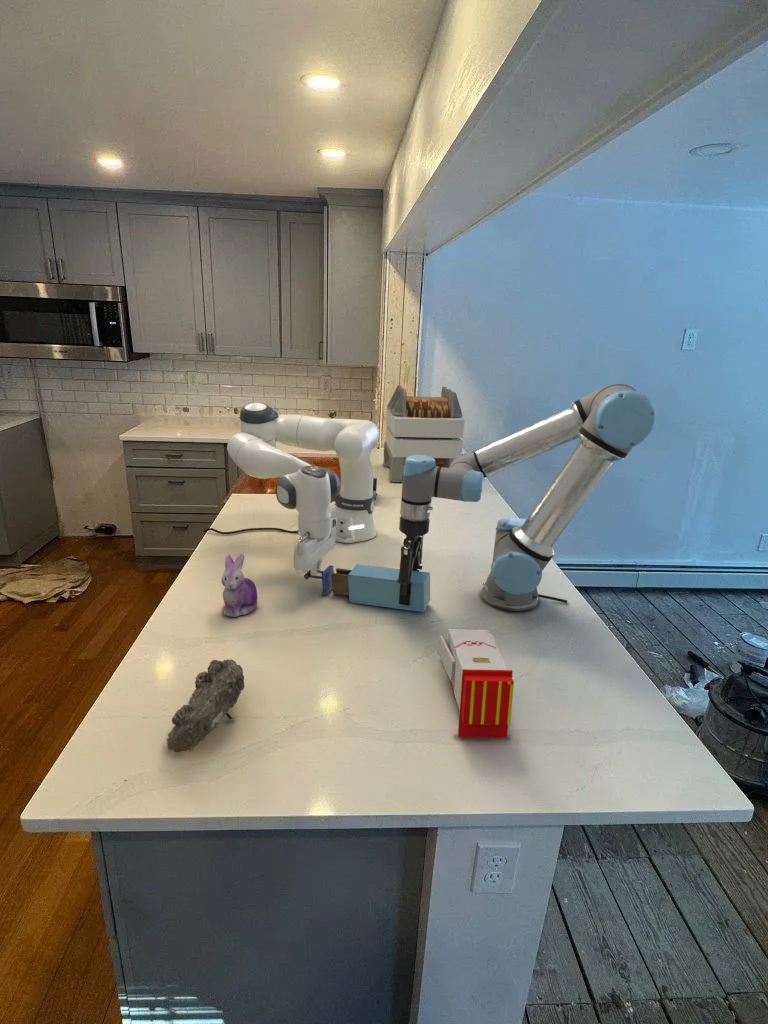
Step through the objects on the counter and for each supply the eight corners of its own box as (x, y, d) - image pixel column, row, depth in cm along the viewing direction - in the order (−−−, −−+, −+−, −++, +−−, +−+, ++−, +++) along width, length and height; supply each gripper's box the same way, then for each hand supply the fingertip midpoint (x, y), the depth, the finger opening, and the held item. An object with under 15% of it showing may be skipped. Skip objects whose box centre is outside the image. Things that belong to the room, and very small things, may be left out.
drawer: (303, 592, 157) (302, 571, 155) (312, 583, 162) (310, 563, 160) (390, 603, 149) (390, 581, 147) (396, 594, 154) (396, 572, 152)
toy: (488, 613, 130) (523, 677, 101) (484, 667, 133) (517, 744, 104) (435, 612, 130) (455, 676, 101) (432, 666, 133) (451, 743, 103)
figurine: (226, 621, 140) (223, 566, 135) (217, 603, 148) (214, 550, 143) (264, 614, 144) (262, 560, 139) (253, 596, 153) (251, 545, 148)
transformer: (382, 463, 289) (386, 382, 275) (445, 464, 293) (451, 384, 279) (390, 482, 257) (394, 392, 243) (460, 483, 261) (468, 394, 247)
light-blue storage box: (349, 602, 152) (348, 574, 150) (358, 591, 158) (357, 564, 156) (423, 612, 146) (423, 583, 144) (430, 600, 152) (430, 572, 150)
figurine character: (377, 508, 228) (376, 492, 242) (377, 490, 225) (377, 476, 238) (360, 507, 228) (361, 492, 242) (360, 490, 225) (361, 475, 238)
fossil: (192, 660, 117) (244, 628, 112) (224, 691, 120) (276, 661, 115) (142, 746, 98) (202, 712, 93) (182, 779, 101) (242, 748, 96)
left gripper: (309, 541, 142) (310, 591, 146) (339, 517, 161) (339, 562, 165) (286, 538, 144) (288, 587, 148) (318, 514, 162) (319, 559, 167)
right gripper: (419, 532, 132) (411, 618, 140) (438, 507, 150) (430, 584, 158) (388, 527, 134) (383, 612, 142) (411, 502, 152) (405, 579, 160)
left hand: (315, 574), depth 157 cm, fingers closed
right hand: (408, 597), depth 150 cm, fingers closed on light-blue storage box, 7 cm apart
